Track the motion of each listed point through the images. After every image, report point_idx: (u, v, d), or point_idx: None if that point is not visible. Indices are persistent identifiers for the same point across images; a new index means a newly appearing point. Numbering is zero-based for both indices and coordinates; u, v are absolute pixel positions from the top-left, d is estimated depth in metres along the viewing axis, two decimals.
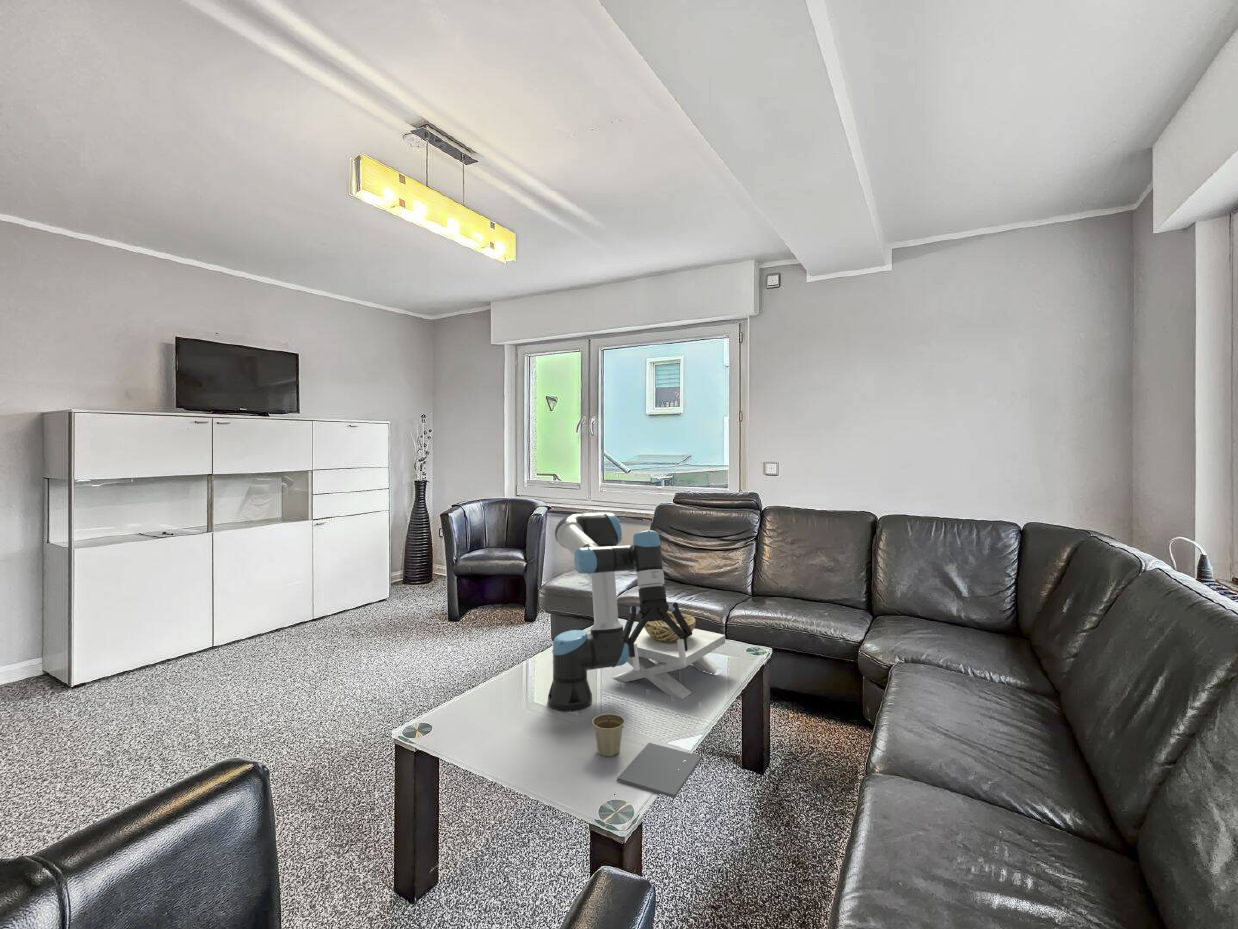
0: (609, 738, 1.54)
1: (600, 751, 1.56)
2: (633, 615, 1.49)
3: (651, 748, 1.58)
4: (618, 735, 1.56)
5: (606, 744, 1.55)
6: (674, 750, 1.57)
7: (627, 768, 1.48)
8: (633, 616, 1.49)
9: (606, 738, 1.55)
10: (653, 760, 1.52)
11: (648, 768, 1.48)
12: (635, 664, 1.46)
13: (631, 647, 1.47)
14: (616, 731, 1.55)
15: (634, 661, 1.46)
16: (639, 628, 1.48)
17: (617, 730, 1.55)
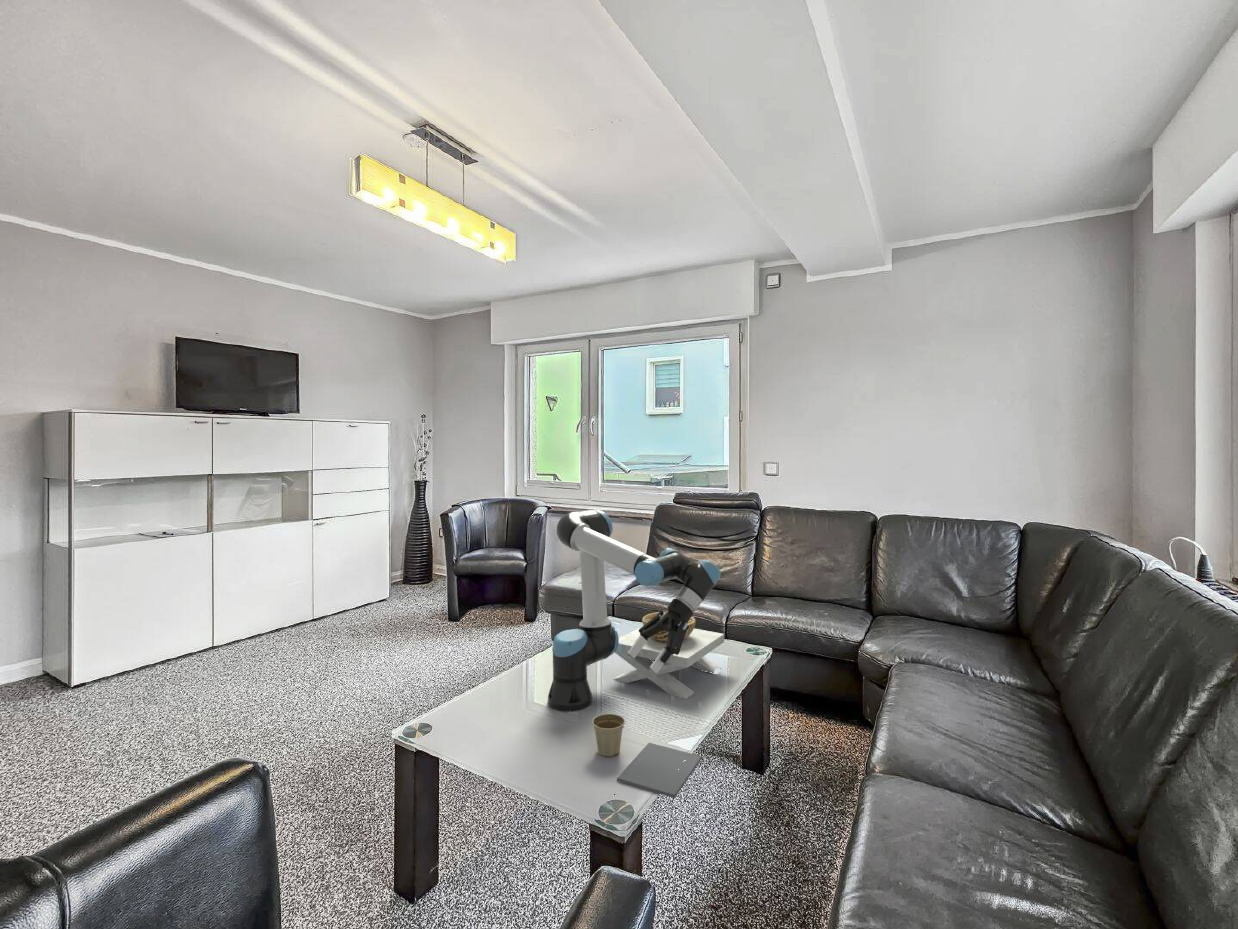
0: (609, 738, 1.54)
1: (600, 751, 1.56)
2: None
3: (651, 748, 1.58)
4: (618, 735, 1.56)
5: (606, 744, 1.55)
6: (674, 750, 1.57)
7: (627, 768, 1.48)
8: None
9: (606, 738, 1.55)
10: (653, 760, 1.52)
11: (648, 768, 1.48)
12: (658, 667, 1.57)
13: None
14: (616, 731, 1.55)
15: (658, 664, 1.57)
16: None
17: (617, 730, 1.55)
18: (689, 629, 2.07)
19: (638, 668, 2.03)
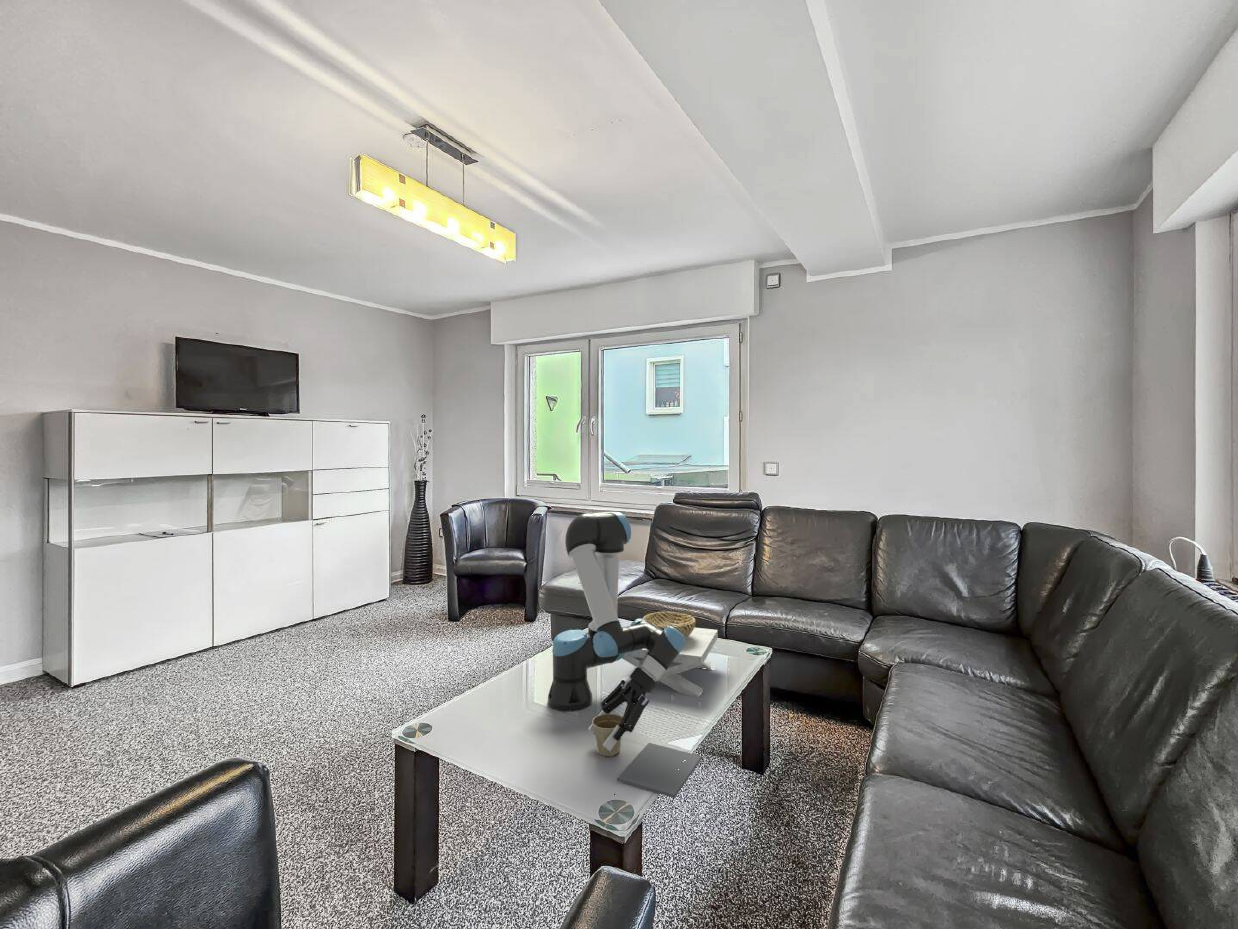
0: None
1: (600, 751, 1.56)
2: None
3: (651, 748, 1.58)
4: None
5: None
6: (674, 750, 1.57)
7: (627, 768, 1.48)
8: None
9: (606, 737, 1.55)
10: (653, 760, 1.52)
11: (648, 768, 1.48)
12: (611, 745, 1.53)
13: None
14: None
15: (612, 742, 1.53)
16: None
17: None
18: (692, 627, 2.09)
19: None
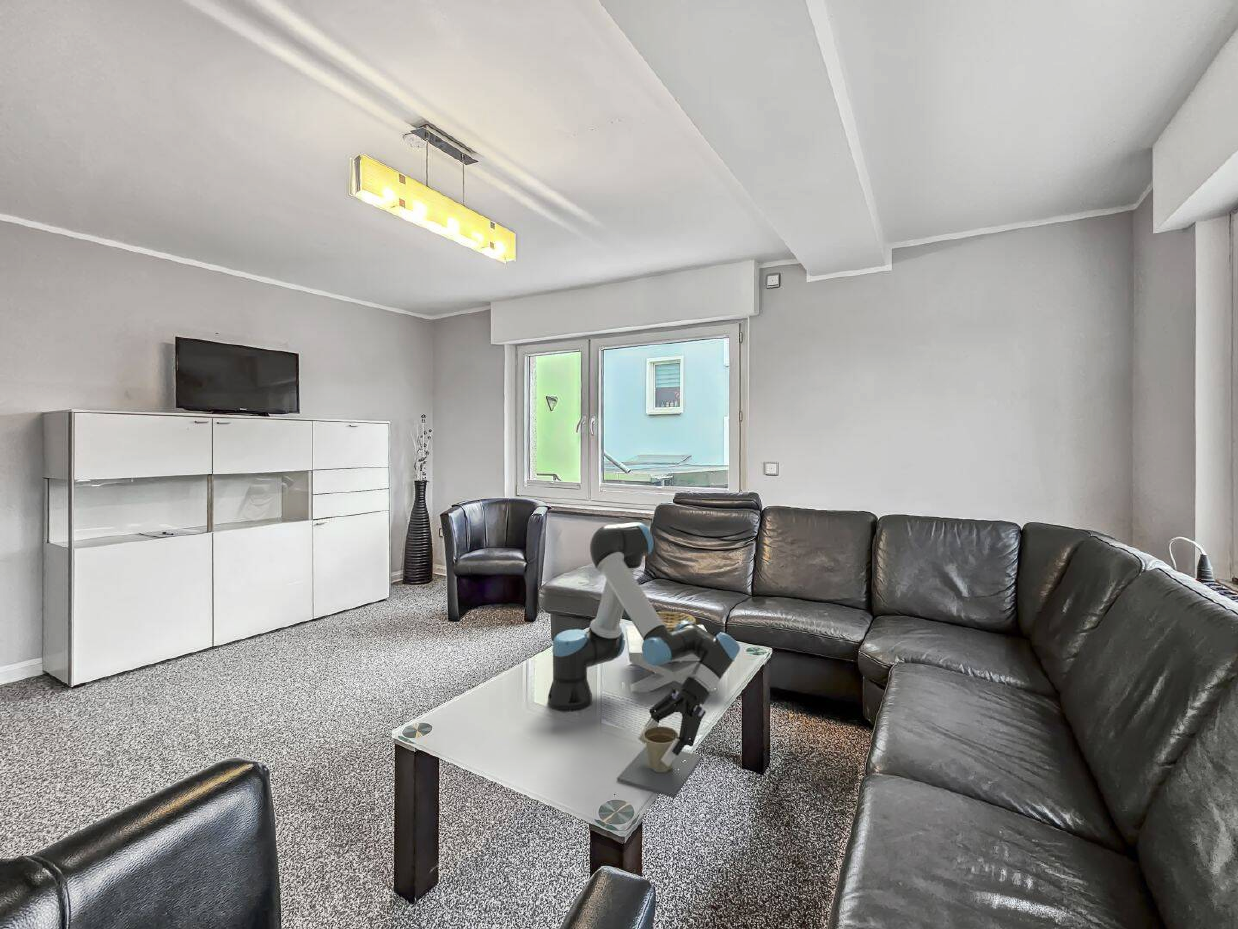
0: (662, 753, 1.45)
1: (652, 767, 1.47)
2: None
3: None
4: None
5: (659, 760, 1.45)
6: None
7: (627, 768, 1.48)
8: None
9: (660, 753, 1.45)
10: None
11: (648, 768, 1.48)
12: (670, 760, 1.42)
13: None
14: None
15: (670, 756, 1.42)
16: None
17: None
18: None
19: (662, 673, 1.98)
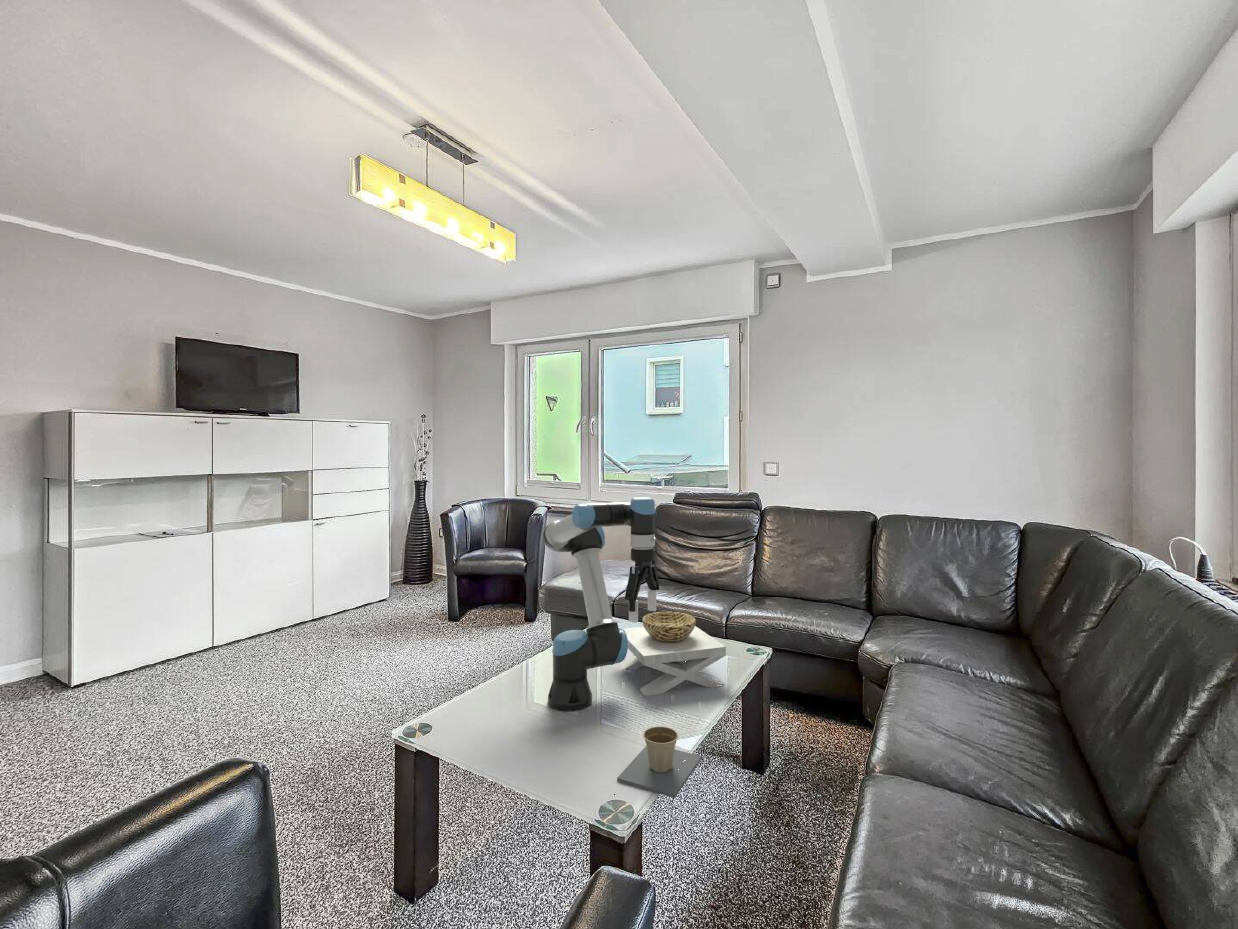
0: (662, 753, 1.45)
1: (652, 767, 1.47)
2: (637, 575, 1.65)
3: None
4: (672, 750, 1.46)
5: (659, 760, 1.45)
6: (674, 750, 1.57)
7: (627, 768, 1.48)
8: (637, 576, 1.65)
9: (660, 753, 1.45)
10: None
11: (648, 768, 1.48)
12: (634, 617, 1.65)
13: (634, 603, 1.64)
14: (670, 746, 1.45)
15: (633, 614, 1.65)
16: (639, 586, 1.66)
17: (671, 745, 1.45)
18: None
19: (675, 673, 1.98)
